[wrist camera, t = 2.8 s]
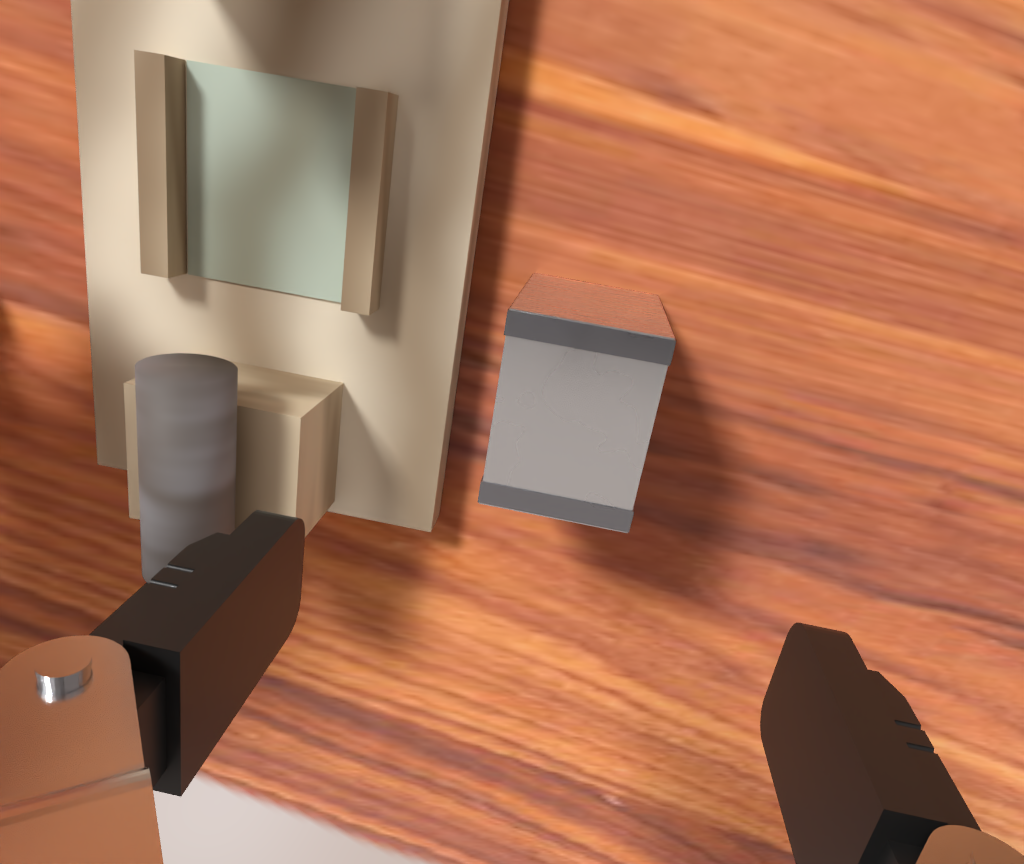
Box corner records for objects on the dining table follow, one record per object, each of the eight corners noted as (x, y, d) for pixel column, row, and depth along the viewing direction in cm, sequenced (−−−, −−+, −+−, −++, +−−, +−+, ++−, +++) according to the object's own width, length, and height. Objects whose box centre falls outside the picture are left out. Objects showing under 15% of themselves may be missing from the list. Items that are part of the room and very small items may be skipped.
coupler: (659, 295, 26) (676, 339, 19) (623, 447, 28) (628, 533, 21) (533, 272, 26) (507, 308, 19) (507, 425, 28) (477, 503, 22)
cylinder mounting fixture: (536, -198, 21) (494, -405, 14) (439, 515, 30) (380, 636, 22) (88, -260, 22) (-191, -488, 14) (120, 450, 31) (-43, 546, 23)
